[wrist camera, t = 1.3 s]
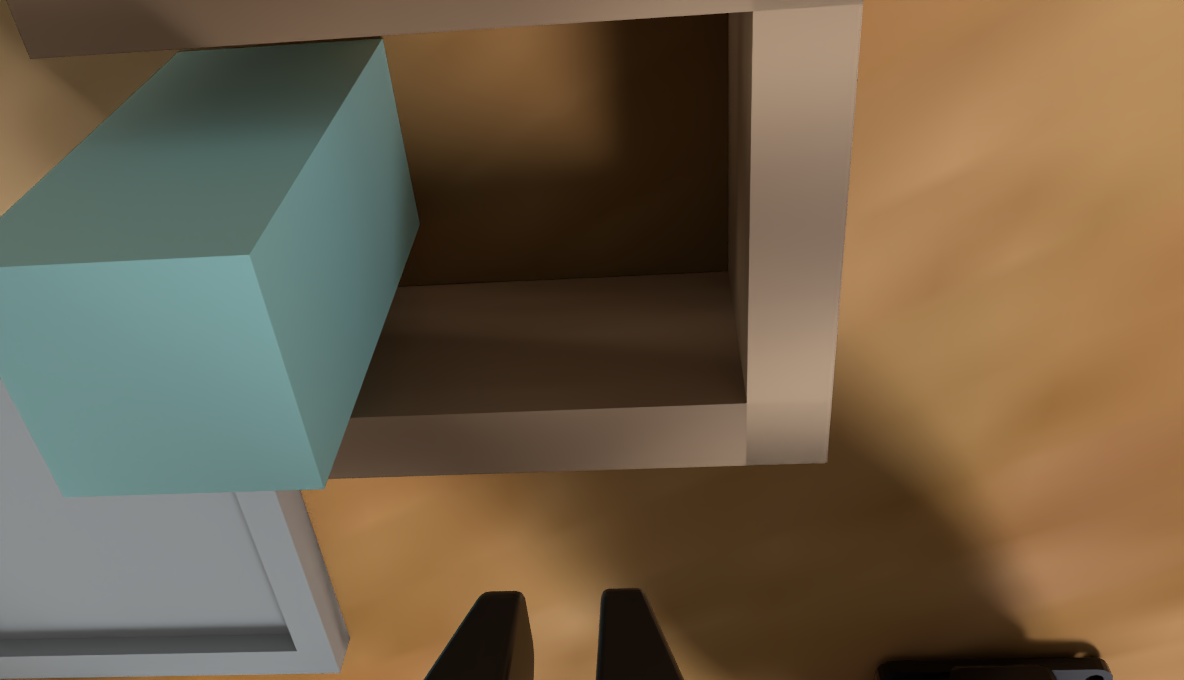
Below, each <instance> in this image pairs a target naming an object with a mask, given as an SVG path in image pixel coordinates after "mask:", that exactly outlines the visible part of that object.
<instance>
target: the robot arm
mask: <svg viewBox="0 0 1184 680" xmlns="http://www.w3.org/2000/svg"><path fill="white" fill-rule="evenodd" d="M533 678H534V649H533V640H532V635H531V629H530V623H529V617H528V612H527V606H526V601H525V598H524V596H523V594H522V593H521V592H518V591H492V592H485V593H484V594H482V595H481V596H480V597H479V598H478V599H477V601H476V602H475V604H474V605H473V607H472V608H471V610H470V611H469V613H468V614H467V616H466V617H465V619H464V620H463V622H462V623H461V625H460V626H459V628H458V629H457V631H456V632H455V634H454V635H453V637H452V638H451V640H450V641H449V643H448V644H447V646H446V647H445V649H444V650H443V652H442V653H441V655H440V656H439V658H438V659H437V661H436V662H435V664H434V665H433V667H432V668H431V670H430V671H429V673H428V674H427V676H426V677H425V679H424V680H533ZM596 680H684V679H683V676H682V674H681V672H680V670H679V668H678V665H677V663H676V661H675V659H674V656H673V654H672V652H671V650H670V647H669V645H668V643H667V641H666V639H665V636H664V634H663V632H662V630H661V627H660V625H659V623H658V621H657V618H656V616H655V614H654V612H653V610H652V607H651V605H650V603H649V601H648V598H647V596H646V594H645V593H644V592H643V591H642V590H641V589H639V588H619V589H607V590H605V591H604V592H603V593H602V596H601V606H600V622H599V637H598V653H597V668H596ZM874 680H1113V676H1112V674H1111V671H1110V669H1109V667H1108V665H1107V663H1106V662H1105V661H1104V660H1102V659H1100V658H1043V659H986V660H928V661H892V662H887V663H884V664H882V665H880V666H879V667H878V668H877V670H876V672H875V679H874Z"/></svg>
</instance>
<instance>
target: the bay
mask: <svg viewBox="0 0 1184 680" xmlns="http://www.w3.org/2000/svg"><path fill="white" fill-rule="evenodd" d="M6 1H7V4H8V6H9V8H10V11H11V13H12V16H13V18H14V21H15V23H16V25H17V28H18V30H19V33H20V35H21V38H22V40H23V42H24V45H25V47H26V50H27V52H28V55H29V57H30V59H35V58H50V57H65V56H80V55H96V54H111V53H126V52H141V51H157V50H172V49H187V48H202V47H217V46H233V45H248V44H263V43H278V42H293V41H309V40H324V39H339V38H354V37H369V36H385V35H400V34H415V33H430V32H445V31H461V30H476V29H491V28H506V27H522V26H537V25H552V24H567V23H582V22H598V21H613V20H628V19H643V18H658V17H674V16H689V15H704V14H719V13H729V104H728V272H707V273H686V274H664V275H643V276H621V277H600V278H579V279H557V280H536V281H514V282H493V283H471V284H450V285H428V286H407V287H397V289H396V292H395V295H394V298H393V300H392V303H391V306H390V309H389V311H388V314H387V317H386V320H385V322H384V325H383V328H382V331H381V334H380V336H379V339H378V342H377V345H376V347H375V350H374V353H373V356H372V358H371V361H370V364H369V367H368V369H367V372H366V375H365V378H364V380H363V383H362V386H361V389H360V392H359V394H358V397H357V400H356V403H355V405H354V408H353V411H352V414H351V416H350V419H349V422H348V425H347V427H346V430H345V433H344V436H343V439H342V441H341V444H340V447H339V450H338V452H337V455H336V458H335V461H334V463H333V466H332V469H331V472H330V474H329V477H328V479H340V478H371V477H402V476H433V475H464V474H495V473H527V472H558V471H589V470H620V469H651V468H682V467H713V466H744V465H775V464H807V463H827V456H828V443H829V431H830V418H831V405H832V392H833V380H834V367H835V354H836V342H837V329H838V316H839V303H840V291H841V278H842V265H843V253H844V240H845V227H846V214H847V202H848V189H849V176H850V164H851V151H852V138H853V125H854V113H855V100H856V87H857V75H858V62H859V49H860V36H861V24H862V11H863V0H6Z"/></svg>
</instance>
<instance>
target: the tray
mask: <svg viewBox="0 0 1184 680" xmlns="http://www.w3.org/2000/svg"><path fill="white" fill-rule="evenodd" d="M349 640H350V637H349V634H348V631H347V628H346V625H345V622H344V619H343V616H342V613H341V610H340V607H339V604H338V601H337V598H336V595H335V592H334V589H333V586H332V583H331V580H330V577H329V574H328V572H327V569H326V566H325V563H324V560H323V557H322V554H321V551H320V548H319V545H318V542H317V539H316V536H315V533H314V530H313V527H312V524H311V521H310V518H309V515H308V512H307V509H306V507H305V504H304V501H303V498H302V495H301V492H300V490H282V491H250V492H218V493H187V494H155V495H124V496H92V497H64V496H63V495H62V493H61V491H60V489H59V487H58V485H57V483H56V481H55V479H54V478H53V476H52V474H51V472H50V470H49V468H48V466H47V464H46V462H45V461H44V459H43V457H42V455H41V453H40V451H39V449H38V447H37V445H36V444H35V442H34V440H33V438H32V436H31V434H30V432H29V430H28V428H27V427H26V425H25V423H24V421H23V419H22V417H21V415H20V413H19V411H18V410H17V408H16V406H15V404H14V402H13V400H12V398H11V396H10V394H9V393H8V391H7V389H6V387H5V385H4V383H3V381H2V379H1V377H0V679H21V678H79V677H137V676H195V675H253V674H310V673H340V672H341V668H342V665H343V661H344V658H345V654H346V651H347V647H348V644H349Z"/></svg>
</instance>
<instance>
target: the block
mask: <svg viewBox="0 0 1184 680" xmlns="http://www.w3.org/2000/svg"><path fill="white" fill-rule="evenodd" d="M419 226H420V222H419V217H418V212H417V207H416V202H415V197H414V192H413V187H412V182H411V177H410V172H409V167H408V162H407V157H406V153H405V148H404V143H403V138H402V133H401V128H400V123H399V118H398V113H397V108H396V103H395V98H394V93H393V88H392V83H391V78H390V73H389V68H388V63H387V58H386V53H385V48H384V43H383V38H382V39H367V40H352V41H336V42H321V43H306V44H291V45H275V46H260V47H245V48H230V49H215V50H199V51H184V52H178V53H177V54H176V55H174V56H173V57H172V58H171V59H170V60H169V61H168V62H167V63H166V64H165V65H164V66H163V67H162V68H161V69H159V70H158V71H157V72H156V73H155V74H154V75H153V76H152V77H151V78H150V79H149V80H148V81H147V82H145V83H144V84H143V85H142V86H141V87H140V88H139V89H138V90H137V91H136V92H135V93H134V94H133V95H131V96H130V97H129V98H128V99H127V100H126V101H125V102H124V103H123V104H122V105H121V106H120V107H119V108H117V109H116V110H115V111H114V112H113V113H112V114H111V115H110V116H109V117H108V118H107V119H106V120H105V121H103V122H102V123H101V124H100V125H99V126H98V127H97V128H96V129H95V130H94V131H93V132H92V133H91V134H89V135H88V136H87V137H86V138H85V139H84V140H83V141H82V142H81V143H80V144H79V145H78V146H77V147H75V148H74V149H73V150H72V151H71V152H70V153H69V154H68V155H67V156H66V157H65V158H64V159H63V160H61V161H60V162H59V163H58V164H57V165H56V166H55V167H54V168H53V169H52V170H51V171H50V172H49V173H47V174H46V175H45V176H44V177H43V178H42V179H41V180H40V181H39V182H38V183H37V184H36V185H35V186H33V187H32V188H31V189H30V190H29V191H28V192H27V193H26V194H25V195H24V196H23V197H22V198H21V199H20V200H18V201H17V202H16V203H15V204H14V205H13V206H12V207H11V208H10V209H9V210H8V211H7V212H6V213H4V214H3V215H2V216H1V217H0V377H1V379H2V381H3V383H4V385H5V387H6V389H7V391H8V393H9V394H10V396H11V398H12V400H13V402H14V404H15V406H16V408H17V410H18V411H19V413H20V415H21V417H22V419H23V421H24V423H25V425H26V427H27V428H28V430H29V432H30V434H31V436H32V438H33V440H34V442H35V444H36V445H37V447H38V449H39V451H40V453H41V455H42V457H43V459H44V461H45V462H46V464H47V466H48V468H49V470H50V472H51V474H52V476H53V478H54V479H55V481H56V483H57V485H58V487H59V489H60V491H61V493H62V495H63V496H64V497H92V496H124V495H155V494H187V493H218V492H250V491H282V490H313V489H324V488H325V486H326V483H327V480H328V477H329V474H330V472H331V469H332V466H333V463H334V461H335V458H336V455H337V452H338V450H339V447H340V444H341V441H342V439H343V436H344V433H345V430H346V427H347V425H348V422H349V419H350V416H351V414H352V411H353V408H354V405H355V403H356V400H357V397H358V394H359V392H360V389H361V386H362V383H363V380H364V378H365V375H366V372H367V369H368V367H369V364H370V361H371V358H372V356H373V353H374V350H375V347H376V345H377V342H378V339H379V336H380V334H381V331H382V328H383V325H384V322H385V320H386V317H387V314H388V311H389V309H390V306H391V303H392V300H393V298H394V295H395V292H396V289H397V287H398V284H399V281H400V278H401V275H402V273H403V270H404V267H405V264H406V262H407V259H408V256H409V253H410V251H411V248H412V245H413V242H414V240H415V237H416V234H417V231H418V228H419Z"/></svg>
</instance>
